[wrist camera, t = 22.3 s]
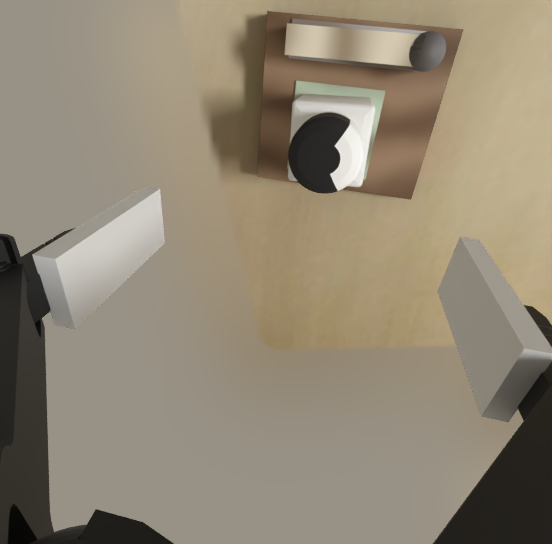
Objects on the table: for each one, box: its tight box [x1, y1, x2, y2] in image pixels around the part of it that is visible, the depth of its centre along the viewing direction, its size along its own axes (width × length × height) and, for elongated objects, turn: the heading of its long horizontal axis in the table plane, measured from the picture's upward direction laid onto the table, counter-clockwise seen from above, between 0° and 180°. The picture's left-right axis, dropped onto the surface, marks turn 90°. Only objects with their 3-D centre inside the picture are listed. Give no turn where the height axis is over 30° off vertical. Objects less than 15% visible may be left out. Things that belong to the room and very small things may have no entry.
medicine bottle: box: [288, 94, 375, 193], centre depth 33 cm, size 7×7×12 cm
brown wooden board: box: [257, 11, 463, 199], centre depth 38 cm, size 16×18×2 cm
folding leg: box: [285, 23, 446, 72], centre depth 32 cm, size 14×3×2 cm, turn 85°
